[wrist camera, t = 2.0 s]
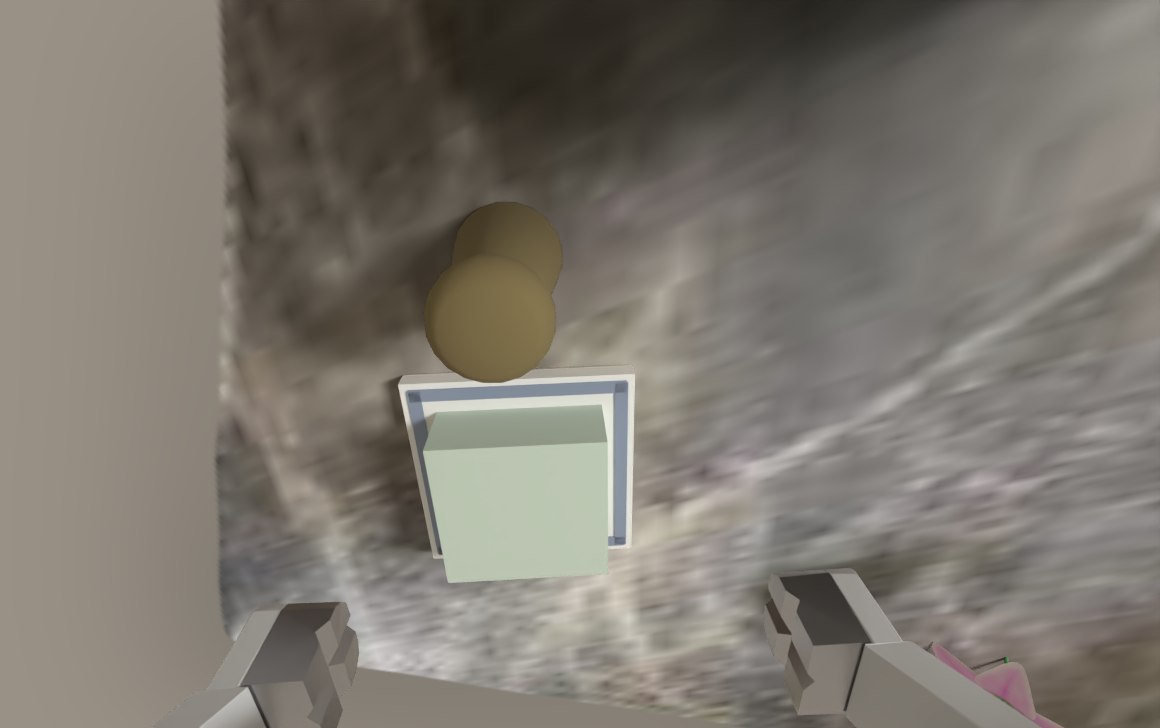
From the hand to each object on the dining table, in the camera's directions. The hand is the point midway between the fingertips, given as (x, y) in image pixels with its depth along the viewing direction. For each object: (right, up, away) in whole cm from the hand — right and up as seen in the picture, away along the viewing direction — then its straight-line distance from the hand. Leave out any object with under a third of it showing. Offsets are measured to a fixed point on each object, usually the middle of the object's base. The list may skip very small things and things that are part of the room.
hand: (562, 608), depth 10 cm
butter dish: (-3, -2, +26) cm, 26 cm away
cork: (-4, +11, +19) cm, 23 cm away
